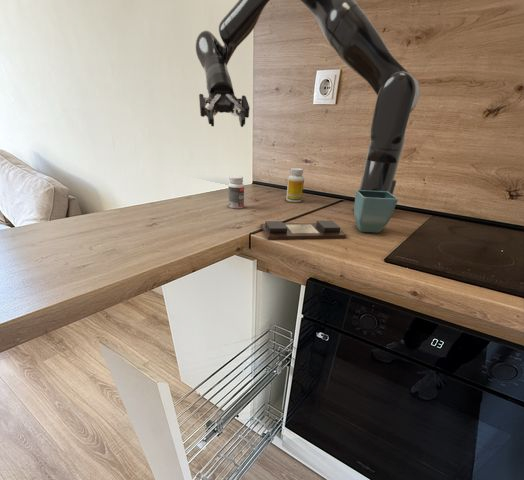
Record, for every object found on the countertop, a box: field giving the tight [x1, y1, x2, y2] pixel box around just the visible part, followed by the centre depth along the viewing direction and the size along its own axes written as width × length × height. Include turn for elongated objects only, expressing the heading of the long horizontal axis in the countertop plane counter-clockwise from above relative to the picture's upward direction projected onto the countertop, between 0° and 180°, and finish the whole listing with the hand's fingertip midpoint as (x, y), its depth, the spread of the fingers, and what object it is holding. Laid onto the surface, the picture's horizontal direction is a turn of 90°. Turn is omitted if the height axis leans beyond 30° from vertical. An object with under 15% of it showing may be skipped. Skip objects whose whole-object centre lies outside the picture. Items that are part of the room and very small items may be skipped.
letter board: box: [260, 220, 347, 240], centre depth 78 cm, size 20×10×2 cm, turn 101°
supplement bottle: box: [285, 167, 305, 203], centre depth 102 cm, size 5×5×10 cm
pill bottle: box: [227, 175, 245, 210], centre depth 93 cm, size 5×5×8 cm
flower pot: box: [353, 189, 399, 234], centre depth 80 cm, size 9×9×9 cm
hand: (227, 123), depth 87 cm, fingers open, 8 cm apart
